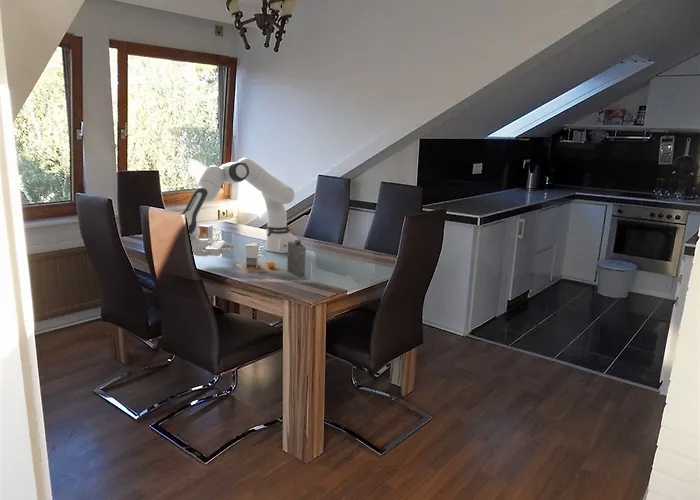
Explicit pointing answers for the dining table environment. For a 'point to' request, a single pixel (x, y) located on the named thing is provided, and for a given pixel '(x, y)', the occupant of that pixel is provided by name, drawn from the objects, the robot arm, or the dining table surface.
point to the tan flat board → (261, 267)
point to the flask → (296, 258)
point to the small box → (206, 231)
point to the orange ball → (271, 264)
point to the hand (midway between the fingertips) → (232, 248)
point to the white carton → (252, 254)
